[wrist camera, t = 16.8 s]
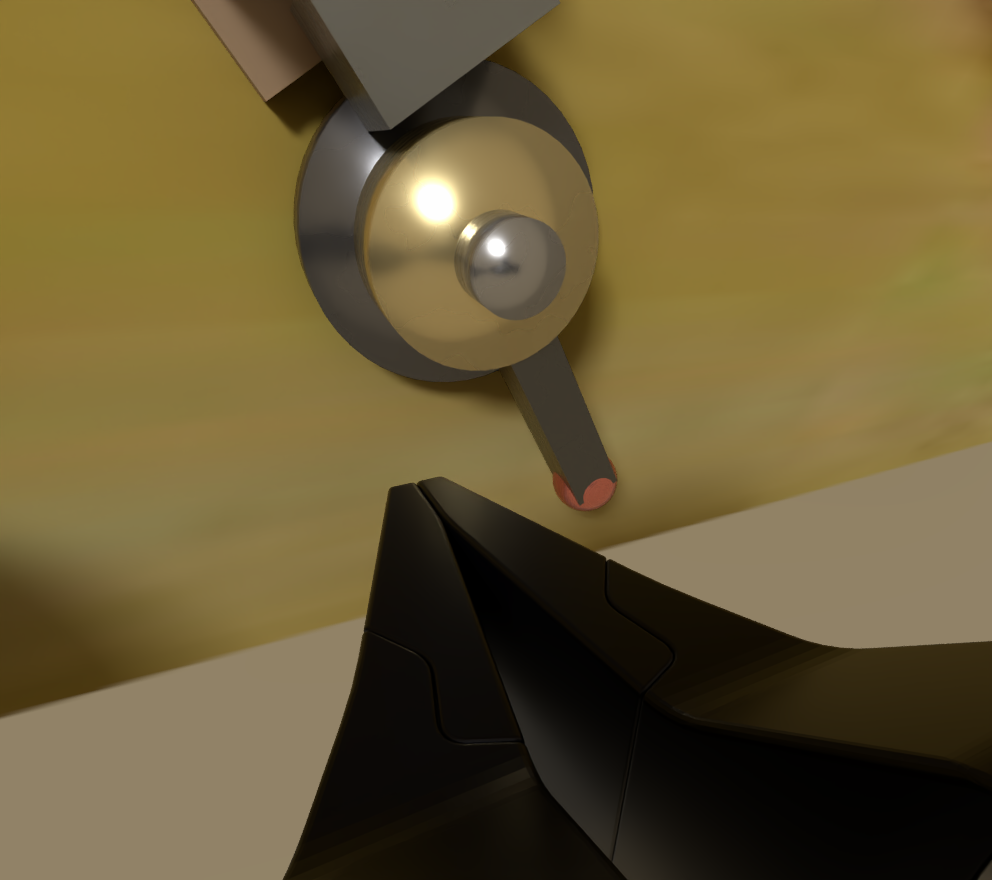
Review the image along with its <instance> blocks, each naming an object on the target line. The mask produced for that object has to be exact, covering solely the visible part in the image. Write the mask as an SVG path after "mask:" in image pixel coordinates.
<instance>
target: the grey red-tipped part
mask: <svg viewBox="0 0 992 880" xmlns="http://www.w3.org/2000/svg"><path fill="white" fill-rule="evenodd" d="M497 209H503V210H509V211H513V212H516V213H519V214H521V215H524V216H527V217H530V218H533V219H536V220H539V221H541V222H543V223H545V224H547V225H548V226H550V227H551V228H552V229H553V230H554V231H555V232H556V234H557V235H558V236H559V238H560V240H561V242H562V244H563V247H564V251H565V256H566V271H565V277H564V280H563V283H562V286H561V288H560V291H559V292H558V294H557V296H556V297H555V299H554V300H553V301H552V302H551V304H550V305H549V306H548V307H547V308H545V309H544V310H543V311H542V312H540V313H539V314H537V315H535V316H533V317H530V318H527V319H523V320H508V319H504V318H501V317H499V316H497V315H495V314H493V313H492V312H491V311H489V310H488V309H487V308H485V307H484V306H483V305H481V304H480V303H478V302H477V301H476V300H474V299H473V298H472V297H470V296H469V295H468V294H467V293H466V292H465V291H464V290H463V288H462V287H461V285H460V283H459V281H458V279H457V276H456V272H455V267H454V255H455V249H456V245H457V242H458V240H459V237H460V235H461V234H462V232H463V230H464V229H465V228H466V226H467V225H468V224H469V223H470V222H471V221H472V220H473V219H475V218H476V217H478V216H479V215H481V214H483V213H485V212H488V211H491V210H497ZM598 243H599V227H598V217H597V209H596V205H595V201H594V197H593V194H592V191H591V188H590V186H589V183H588V181H587V178H586V177H585V175H584V173H583V171H582V169H581V167H580V166H579V164H578V163H577V161H576V160H575V159H574V157H573V156H572V155H571V153H570V152H569V151H568V150H567V149H566V148H565V147H564V146H563V145H562V144H561V143H560V142H559V141H558V140H556V139H555V138H554V137H552V136H551V135H550V134H548V133H547V132H545V131H544V130H542V129H540V128H538V127H536V126H534V125H532V124H529V123H526V122H524V121H521V120H518V119H512V118H507V117H489V116H452V117H445V118H439V119H436V120H433V121H430V122H426V123H424V124H422V125H420V126H418V127H416V128H414V129H412V130H410V131H409V132H407V133H406V134H404V135H403V136H402V137H400V138H399V139H398V140H396V141H395V142H394V143H393V144H392V145H391V146H390V147H389V148H388V149H387V150H386V151H385V152H384V154H383V155H382V156H381V157H380V158H379V160H378V161H377V162H376V164H375V165H374V167H373V169H372V170H371V172H370V174H369V175H368V177H367V179H366V182H365V184H364V186H363V189H362V191H361V194H360V197H359V201H358V204H357V208H356V215H355V221H354V248H355V257H356V261H357V265H358V269H359V273H360V275H361V278H362V281H363V283H364V286H365V288H366V290H367V291H368V293H369V295H370V297H371V299H372V300H373V302H374V303H375V304H376V306H377V307H378V309H379V310H380V311H381V312H382V314H383V315H384V316H385V317H386V319H387V320H388V321H389V322H390V324H391V325H392V326H393V327H394V329H395V330H396V331H397V332H398V333H399V335H400V336H401V337H402V338H403V339H404V340H405V341H406V342H407V343H408V344H409V345H410V346H412V347H413V348H414V349H415V350H417V351H418V352H419V353H421V354H422V355H424V356H426V357H427V358H429V359H431V360H433V361H435V362H437V363H440V364H442V365H445V366H448V367H452V368H456V369H462V370H470V371H479V370H491V369H498V368H499V370H500V372H501V374H502V376H503V378H504V380H505V382H506V384H507V386H508V388H509V390H510V392H511V394H512V396H513V398H514V400H515V402H516V404H517V406H518V407H519V409H520V411H521V413H522V415H523V417H524V419H525V421H526V423H527V425H528V427H529V429H530V431H531V433H532V435H533V437H534V439H535V441H536V443H537V445H538V447H539V449H540V451H541V453H542V455H543V457H544V459H545V461H546V463H547V465H548V467H549V469H550V471H551V472H552V474H553V486H554V489H555V492H556V494H557V496H558V497H559V498H560V500H561V501H562V502H563V503H564V504H566V505H567V506H569V507H571V508H573V509H576V510H580V511H591V510H595V509H598V508H600V507H602V506H603V505H605V504H606V503H607V502H608V501H609V500H610V499H611V497H612V496H613V494H614V492H615V489H616V485H617V474H616V470H615V467H614V465H613V463H612V461H611V460H610V459H609V458H608V457H607V454H606V452H605V450H604V447H603V445H602V442H601V440H600V438H599V435H598V433H597V430H596V428H595V425H594V423H593V421H592V418H591V416H590V413H589V411H588V409H587V406H586V404H585V401H584V399H583V397H582V394H581V392H580V389H579V387H578V384H577V382H576V380H575V377H574V375H573V372H572V370H571V368H570V365H569V363H568V360H567V358H566V356H565V353H564V351H563V348H562V346H561V343H560V341H559V339H558V335H559V333H560V332H561V331H562V330H563V329H564V328H565V327H566V326H567V324H568V323H569V322H570V320H571V319H572V317H573V316H574V315H575V313H576V312H577V310H578V308H579V306H580V305H581V303H582V301H583V299H584V297H585V295H586V293H587V290H588V288H589V286H590V283H591V279H592V276H593V273H594V269H595V264H596V260H597V253H598Z"/></svg>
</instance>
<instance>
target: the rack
mask: <svg viewBox="0 0 992 880" xmlns="http://www.w3.org/2000/svg"><path fill="white" fill-rule="evenodd" d="M191 1H192V2H193V4H194V5H195V6H196V8H197V9H198V11H199V12H200V13H201V15H202V16H203V18H204V19H205V20H206V22H207V23H208V25H209V26H210V27H211V29H212V30H213V32H214V33H215V34H216V36H217V37H218V38H219V40H220V41H221V43H222V44H223V45H224V47H225V48H226V50H227V51H228V52H229V54H230V55H231V57H232V58H233V59H234V61H235V62H236V64H237V65H238V66H239V68H240V69H241V70H242V72H243V73H244V75H245V76H246V77H247V79H248V80H249V82H250V83H251V84H252V86H253V87H254V89H255V90H256V91H257V93H258V94H259V96H260V97H261V98H262V100H263V101H264V102H266V101H268V100H269V99H270V98H272V97H273V96H274V95H276V94H277V93H279V92H280V91H281V90H283V89H284V88H285V87H287V86H288V85H289V84H291V83H292V82H293V81H295V80H296V79H298V78H299V77H300V76H302V75H303V74H304V73H306V72H307V71H308V70H310V69H311V68H312V67H314V66H315V65H317V64H318V63H319V62H321V61H322V59H321V58H320V56H319V55H318V53H317V51H316V50H315V48H314V47H313V45H312V44H311V42H310V41H309V39H308V37H307V36H306V34H305V33H304V31H303V30H302V28H301V26H300V25H299V23H298V22H297V20H296V19H295V17H294V16H293V14H292V12H291V11H290V7H291V5H292V2H293V0H191Z"/></svg>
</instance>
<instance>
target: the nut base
mask: <svg viewBox="0 0 992 880" xmlns="http://www.w3.org/2000/svg"><path fill="white" fill-rule="evenodd" d="M452 116H489V117H507V118H512V119H518V120H521V121H524V122H526V123H529V124H532V125H534V126H536V127H538V128H540V129H542V130H544V131H545V132H547V133H548V134H550V135H551V136H552V137H554V138H555V139H556V140H558V141H559V142H560V143H561V144H562V145H563V146H564V147H565V148H566V149H567V150H568V151H569V152H570V153H571V155H572V156H573V157H574V159H575V160H576V161H577V163H578V164H579V166H580V167H581V169H582V171H583V173H584V175H585V177H586V178H587V181H588V183H589V186H590V188H591V191H592V194H593V190H592V184H591V179H590V174H589V170H588V166H587V163H586V160H585V157H584V154H583V151H582V148H581V146H580V144H579V142H578V140H577V138H576V136H575V134H574V132H573V130H572V128H571V126H570V125H569V123H568V122H567V120H566V119H565V117H564V116H563V114H562V113H561V111H560V110H559V109H558V108H557V107H556V106H555V104H554V103H553V102H552V101H551V100H550V99H549V98H548V96H547V95H545V94H544V93H543V92H542V91H541V90H540V89H538V88H537V87H536V86H535V85H534V84H533V83H532V82H530V81H528V80H527V79H525V78H524V77H522V76H521V75H519V74H517V73H516V72H514V71H512V70H510V69H508V68H506V67H503V66H501V65H499V64H496V63H494V62H490V61H486V60H483V61H482V62H480V63H479V64H478V65H476V66H475V67H474V68H472V69H471V70H470V71H468V72H467V73H466V74H464V75H463V76H462V77H460V78H459V79H458V80H456V81H455V82H454V83H452V84H451V85H450V86H448V87H447V88H446V89H444V90H443V91H442V92H440V93H439V94H438V95H436V96H435V97H434V98H432V99H431V100H430V101H428V102H427V103H425V104H424V105H423V106H421V107H420V108H419V109H417V110H416V111H415V112H413V113H412V114H411V115H409V116H408V117H407V118H405V119H404V120H403V121H401V122H400V123H399V124H397V125H396V126H395V127H393V128H392V129H391V130H380V131H367V130H366V128H365V127H364V125H363V123H362V122H361V120H360V119H359V117H358V116H357V114H356V112H355V111H354V109H353V108H352V106H351V105H350V103H349V102H348V100H347V98H346V97H345V95H344V96H343V97H342V98H341V99H340V100H339V101H338V102H337V103H336V104H335V106H334V107H333V108H332V109H331V110H330V111H329V113H328V114H327V115H326V116H325V117H324V119H323V121H322V122H321V124H320V125H319V127H318V128H317V130H316V132H315V133H314V135H313V137H312V139H311V141H310V143H309V146H308V148H307V150H306V152H305V155H304V157H303V160H302V164H301V167H300V171H299V174H298V178H297V184H296V190H295V197H294V230H295V239H296V246H297V250H298V254H299V258H300V262H301V266H302V268H303V271H304V273H305V276H306V278H307V281H308V284H309V286H310V288H311V290H312V292H313V293H314V295H315V297H316V299H317V301H318V303H319V305H320V306H321V308H322V310H323V312H324V314H325V315H326V317H327V318H328V320H329V321H330V322H331V324H332V325H333V326H334V328H335V329H336V330H337V332H338V333H339V334H340V335H341V336H342V337H343V338H344V339H345V340H346V341H347V342H348V343H349V344H350V345H351V346H352V347H353V348H354V349H356V350H357V351H358V352H359V353H361V354H362V355H363V356H364V357H366V358H367V359H369V360H371V361H372V362H374V363H376V364H377V365H379V366H381V367H382V368H385V369H387V370H389V371H392V372H394V373H396V374H399V375H402V376H406V377H409V378H413V379H417V380H424V381H431V382H453V381H462V380H469V379H473V378H477V377H481V376H484V375H487V374H490V373H492V372H495V371H498V370H499V368H498V369H491V370H479V371H470V370H462V369H456V368H452V367H448V366H445V365H442V364H440V363H437V362H435V361H433V360H431V359H429V358H427V357H426V356H424V355H422V354H421V353H419V352H418V351H417V350H415V349H414V348H413V347H412V346H410V345H409V344H408V343H407V342H406V341H405V340H404V339H403V338H402V337H401V336H400V335H399V333H398V332H397V331H396V330H395V329H394V327H393V326H392V325H391V324H390V322H389V321H388V320H387V319H386V317H385V316H384V315H383V314H382V312H381V311H380V310H379V309H378V307H377V306H376V304H375V303H374V302H373V300H372V299H371V297H370V295H369V293H368V291H367V290H366V288H365V286H364V283H363V281H362V278H361V275H360V273H359V269H358V265H357V261H356V257H355V248H354V221H355V215H356V208H357V204H358V201H359V197H360V194H361V191H362V189H363V186H364V184H365V182H366V179H367V177H368V175H369V174H370V172H371V170H372V169H373V167H374V165H375V164H376V162H377V161H378V160H379V158H380V157H381V156H382V155H383V154H384V152H385V151H386V150H387V149H388V148H389V147H390V146H391V145H392V144H393V143H394V142H395V141H396V140H398V139H399V138H400V137H402V136H403V135H404V134H406V133H407V132H409V131H410V130H412V129H414V128H416V127H418V126H420V125H422V124H424V123H426V122H430V121H433V120H436V119H439V118H445V117H452ZM454 267H455V272H456V276H457V279H458V281H459V283H460V285H461V287H462V288H463V290H464V291H465V292H466V293H467V294H468V295H469V296H470V297H472V298H473V299H474V300H476V301H477V302H478V303H480V304H481V305H483V306H484V307H485V308H487V309H488V310H489V311H491V312H492V313H493V314H495V315H497V316H499V317H501V318H504V319H508V320H523V319H527V318H530V317H533V316H535V315H537V314H539V313H540V312H542V311H543V310H544V309H545V308H547V307H548V306H549V305H550V304H551V302H552V301H553V300H554V299H555V297H556V296H557V294H558V292H559V291H560V288H561V286H562V283H563V280H564V277H565V271H566V256H565V251H564V247H563V244H562V242H561V240H560V238H559V236H558V235H557V234H556V232H555V231H554V230H553V229H552V228H551V227H550V226H548V225H547V224H545V223H543V222H541V221H539V220H536V219H533V218H530V217H527V216H524V215H521V214H519V213H516V212H513V211H509V210H503V209H497V210H491V211H488V212H485V213H483V214H481V215H479V216H478V217H476V218H475V219H473V220H472V221H471V222H470V223H469V224H468V225H467V226H466V228H465V229H464V230H463V232H462V234H461V235H460V237H459V240H458V242H457V245H456V249H455V255H454Z"/></svg>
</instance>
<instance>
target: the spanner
mask: <svg viewBox="0 0 992 880" xmlns="http://www.w3.org/2000/svg"><path fill="white" fill-rule="evenodd" d="M558 4H560V1H559V0H293V2H292V5H291V7H290V11H291V12H292V14H293V16H294V17H295V19H296V20H297V22H298V23H299V25H300V26H301V28H302V30H303V31H304V33H305V34H306V36H307V37H308V39H309V41H310V42H311V44H312V45H313V47H314V48H315V50H316V51H317V53H318V55H319V56H320V58H321V59H322V61H323V62H324V64H325V66H326V67H327V69H328V70H329V72H330V73H331V75H332V77H333V78H334V80H335V81H336V83H337V84H338V86H339V87H340V89H341V91H342V92H343V94H344V95H345V97H346V98H347V100H348V102H349V103H350V105H351V106H352V108H353V109H354V111H355V112H356V114H357V116H358V117H359V119H360V120H361V122H362V123H363V125H364V127H365V128H366V130H367V131H380V130H391V129H392V128H393V127H395V126H396V125H397V124H399V123H400V122H401V121H403V120H404V119H405V118H407V117H408V116H409V115H411V114H412V113H413V112H415V111H416V110H417V109H419V108H420V107H421V106H423V105H424V104H425V103H427V102H428V101H430V100H431V99H432V98H434V97H435V96H436V95H438V94H439V93H440V92H442V91H443V90H444V89H446V88H447V87H448V86H450V85H451V84H452V83H454V82H455V81H456V80H458V79H459V78H460V77H462V76H463V75H464V74H466V73H467V72H468V71H470V70H471V69H472V68H474V67H475V66H476V65H478V64H479V63H480V62H482V61H483V60H485V59H486V58H487V57H489V56H490V55H491V54H493V53H494V52H495V51H497V50H498V49H499V48H501V47H502V46H503V45H505V44H506V43H507V42H509V41H510V40H511V39H513V38H514V37H515V36H517V35H518V34H519V33H521V32H522V31H523V30H525V29H526V28H527V27H529V26H530V25H531V24H533V23H534V22H535V21H537V20H538V19H539V18H541V17H542V16H544V15H545V14H546V13H548V12H549V11H550V10H552V9H553V8H554V7H556V6H557V5H558Z"/></svg>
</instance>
